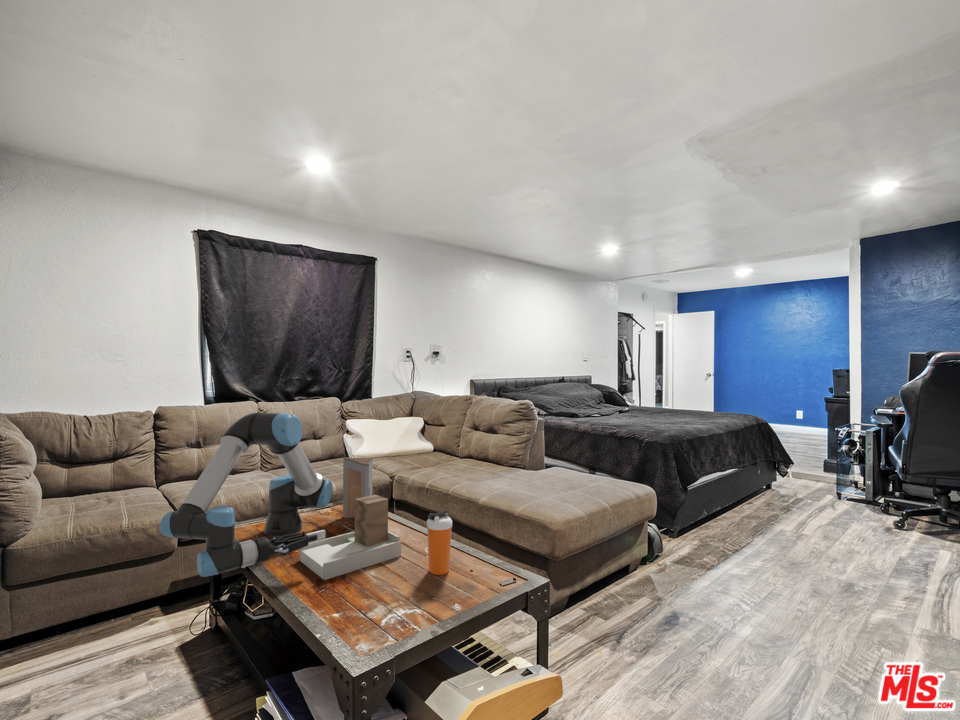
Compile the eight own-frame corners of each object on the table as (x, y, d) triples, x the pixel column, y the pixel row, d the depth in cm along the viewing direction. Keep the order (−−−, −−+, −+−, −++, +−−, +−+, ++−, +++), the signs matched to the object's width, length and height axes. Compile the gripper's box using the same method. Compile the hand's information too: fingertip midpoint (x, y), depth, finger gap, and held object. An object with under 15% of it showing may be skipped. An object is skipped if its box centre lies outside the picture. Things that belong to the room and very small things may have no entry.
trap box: (299, 560, 171) (299, 541, 171) (372, 540, 191) (372, 523, 191) (324, 580, 155) (324, 559, 156) (401, 555, 176) (401, 537, 176)
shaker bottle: (457, 570, 164) (457, 513, 164) (438, 578, 157) (438, 519, 157) (440, 563, 170) (440, 507, 170) (421, 570, 163) (421, 513, 163)
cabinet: (342, 517, 220) (343, 457, 220) (361, 512, 226) (362, 454, 227) (365, 528, 204) (365, 464, 205) (384, 523, 211) (384, 461, 211)
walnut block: (354, 540, 180) (355, 499, 180) (374, 534, 186) (374, 494, 187) (367, 547, 174) (368, 503, 174) (387, 540, 180) (388, 499, 180)
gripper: (247, 557, 154) (316, 539, 170) (260, 570, 144) (332, 549, 161) (247, 534, 154) (316, 518, 170) (261, 545, 145) (333, 528, 161)
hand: (324, 533), depth 165 cm, fingers closed
